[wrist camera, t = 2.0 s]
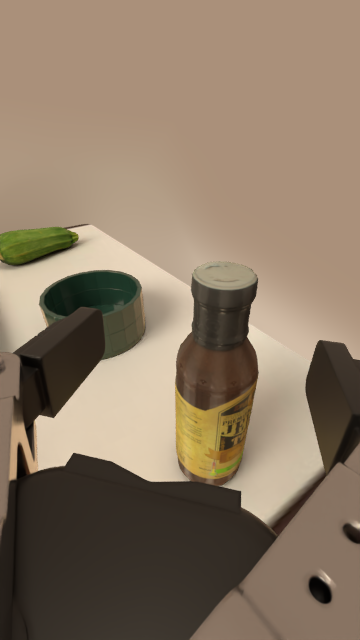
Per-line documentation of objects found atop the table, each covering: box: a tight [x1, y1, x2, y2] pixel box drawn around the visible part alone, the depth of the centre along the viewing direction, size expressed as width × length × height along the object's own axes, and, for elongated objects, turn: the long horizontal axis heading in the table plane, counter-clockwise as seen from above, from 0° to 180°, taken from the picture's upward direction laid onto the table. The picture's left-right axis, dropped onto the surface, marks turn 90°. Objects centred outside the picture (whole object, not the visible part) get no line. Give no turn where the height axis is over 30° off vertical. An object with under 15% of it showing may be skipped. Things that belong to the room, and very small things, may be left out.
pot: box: [39, 270, 145, 360], centre depth 44 cm, size 14×14×7 cm
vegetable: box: [0, 227, 79, 265], centre depth 70 cm, size 7×7×20 cm
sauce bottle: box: [175, 262, 259, 486], centre depth 23 cm, size 6×6×20 cm
